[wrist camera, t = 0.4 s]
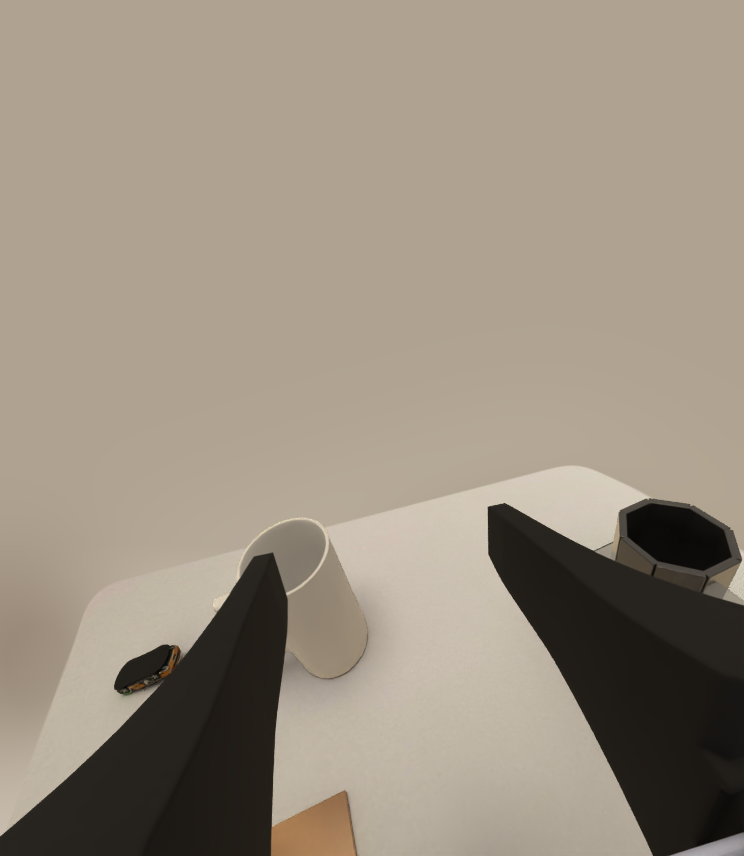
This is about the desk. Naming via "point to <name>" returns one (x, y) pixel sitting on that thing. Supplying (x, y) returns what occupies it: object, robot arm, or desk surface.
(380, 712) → the desk surface
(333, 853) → the coaster
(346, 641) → the mug
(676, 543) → the cup
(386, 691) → the desk surface
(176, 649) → the toy car
